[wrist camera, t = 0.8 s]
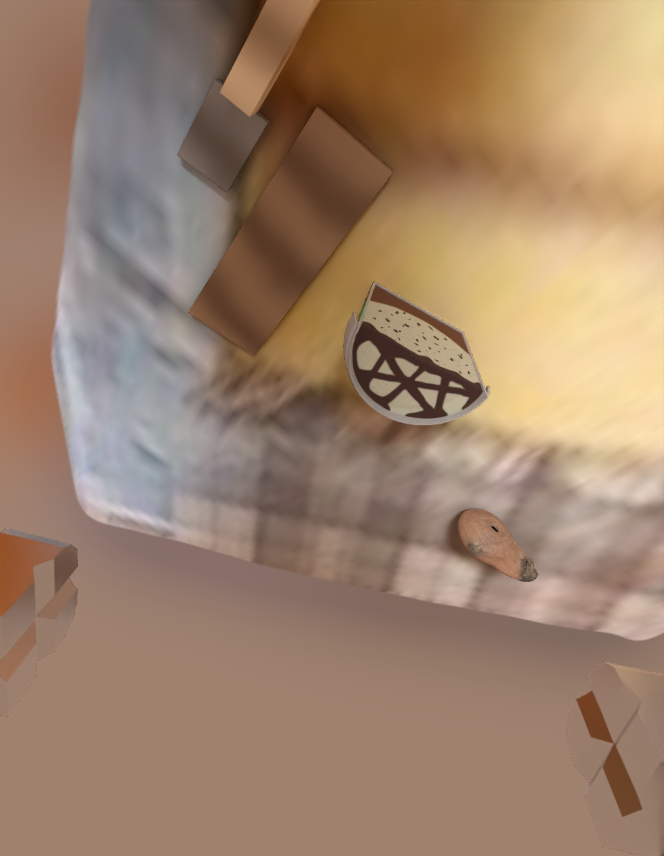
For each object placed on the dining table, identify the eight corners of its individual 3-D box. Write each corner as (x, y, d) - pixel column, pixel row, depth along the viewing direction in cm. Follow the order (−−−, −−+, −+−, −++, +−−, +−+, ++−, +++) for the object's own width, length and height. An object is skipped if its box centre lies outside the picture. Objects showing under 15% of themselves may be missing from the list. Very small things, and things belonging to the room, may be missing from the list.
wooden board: (318, 105, 39) (316, 107, 38) (392, 170, 41) (392, 172, 40) (191, 307, 49) (188, 312, 48) (255, 351, 51) (253, 356, 50)
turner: (296, -76, 33) (288, -85, 31) (352, -21, 34) (349, -25, 32) (181, 152, 41) (168, 160, 39) (229, 189, 43) (220, 199, 40)
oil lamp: (534, 518, 61) (551, 576, 54) (514, 540, 63) (528, 597, 57) (464, 493, 60) (472, 548, 53) (446, 516, 62) (453, 572, 55)
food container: (325, 329, 49) (312, 387, 41) (359, 272, 46) (351, 323, 38) (437, 388, 52) (445, 454, 44) (477, 339, 48) (493, 400, 40)
